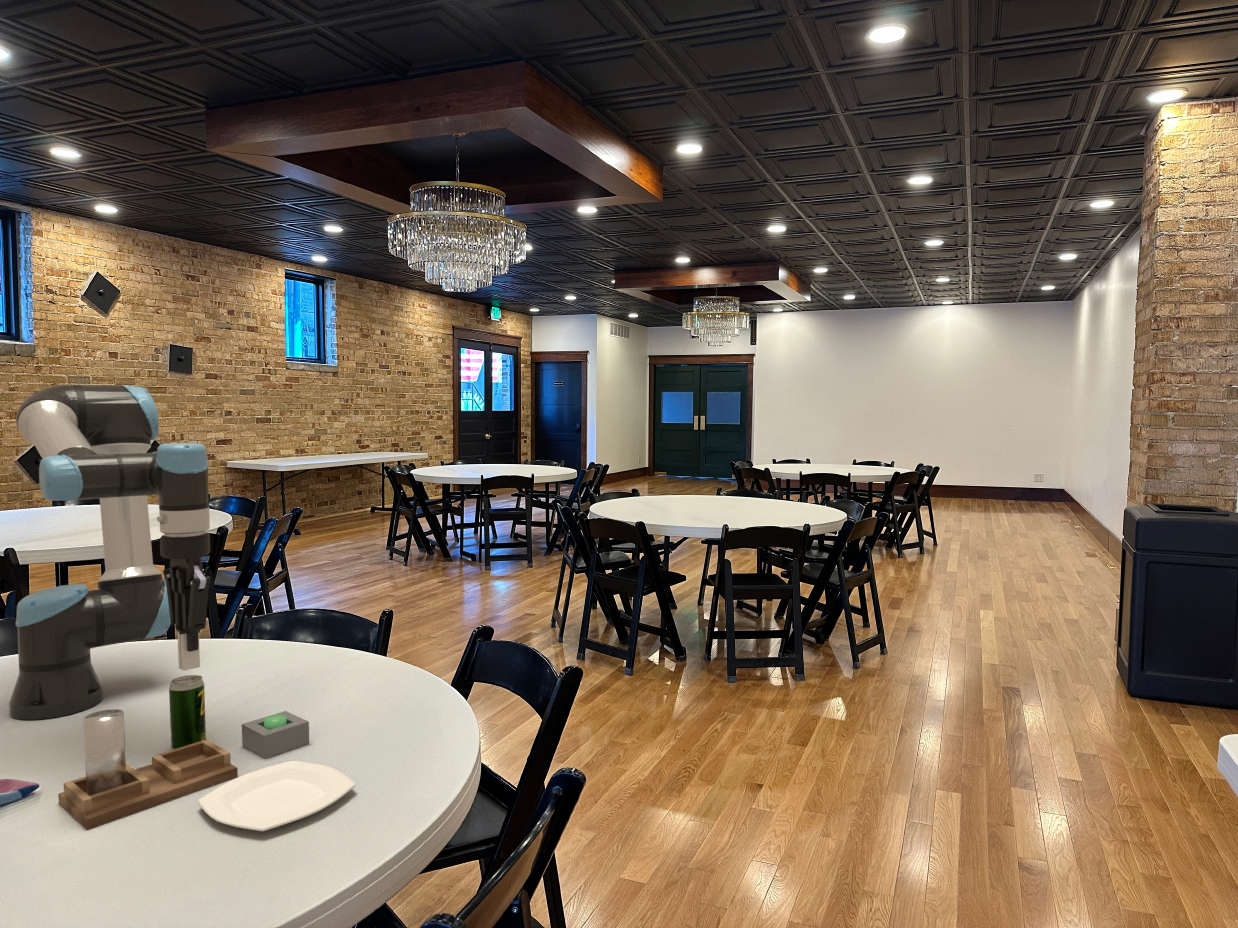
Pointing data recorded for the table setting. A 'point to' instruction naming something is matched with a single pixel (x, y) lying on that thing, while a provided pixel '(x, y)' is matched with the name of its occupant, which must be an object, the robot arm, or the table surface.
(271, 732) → the grey square socket block
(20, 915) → the table surface
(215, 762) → the wooden tray
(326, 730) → the table surface
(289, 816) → the plate
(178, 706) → the green drink can
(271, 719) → the button
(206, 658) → the table surface
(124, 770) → the cylinder
